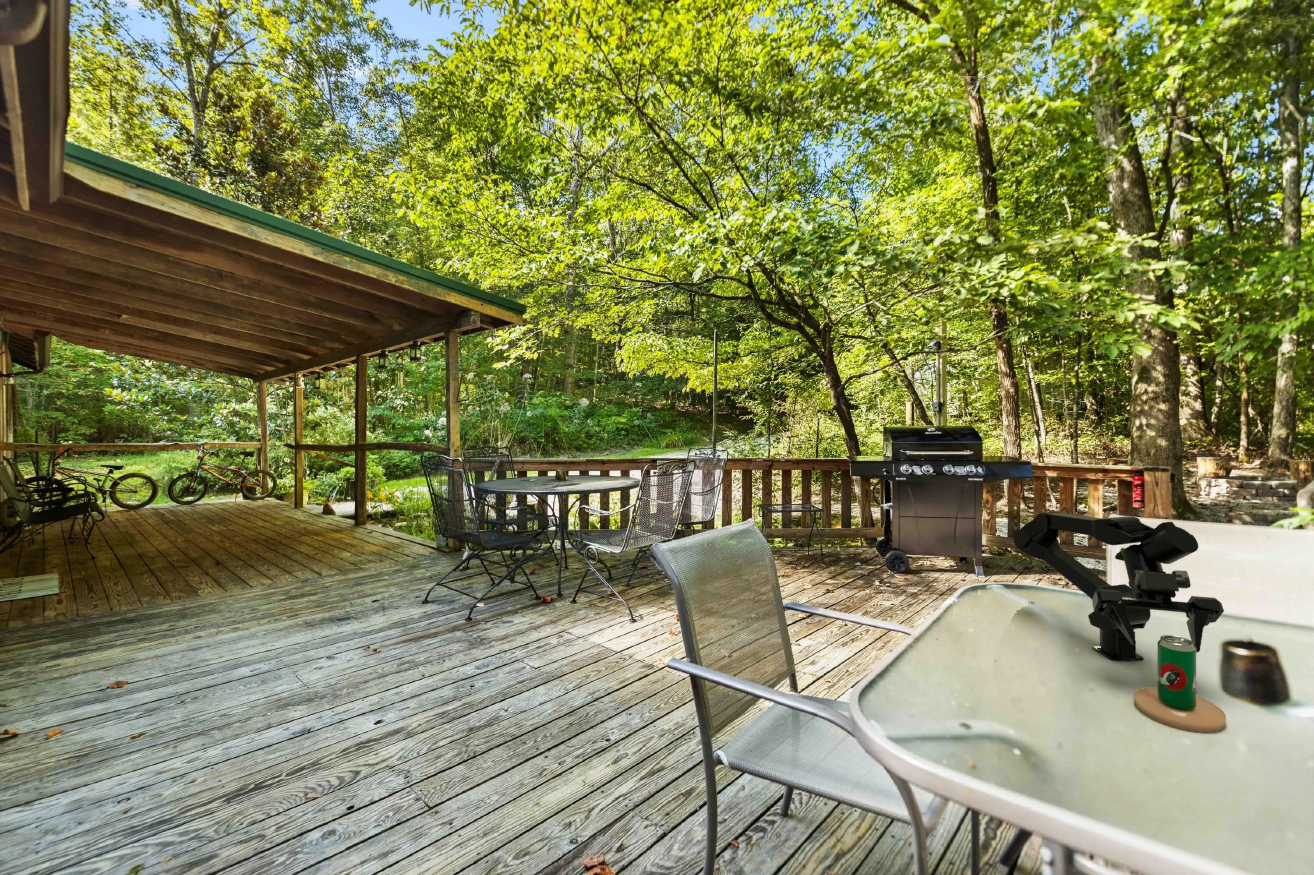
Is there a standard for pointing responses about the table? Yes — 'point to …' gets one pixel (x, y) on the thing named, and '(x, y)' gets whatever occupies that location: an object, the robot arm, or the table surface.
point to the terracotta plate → (1181, 713)
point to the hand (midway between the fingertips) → (1165, 647)
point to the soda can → (1177, 672)
